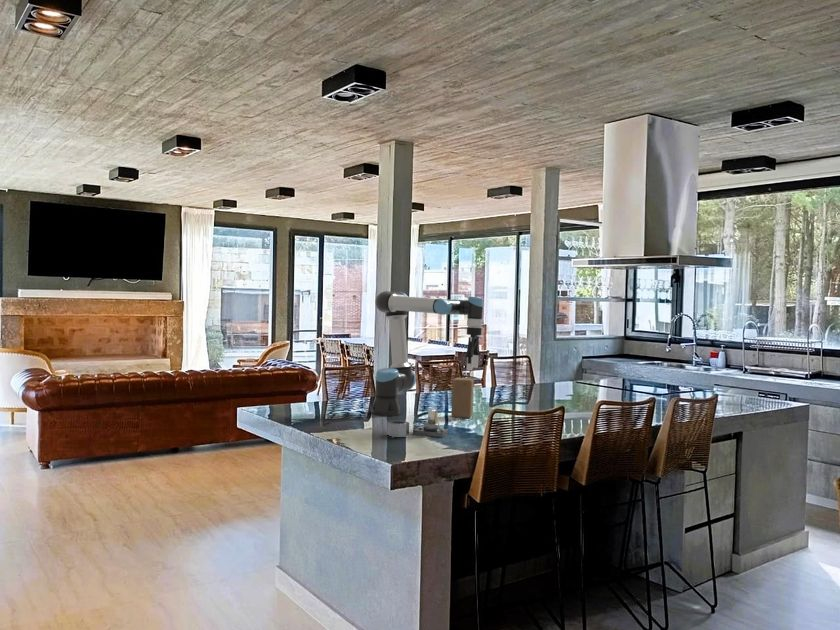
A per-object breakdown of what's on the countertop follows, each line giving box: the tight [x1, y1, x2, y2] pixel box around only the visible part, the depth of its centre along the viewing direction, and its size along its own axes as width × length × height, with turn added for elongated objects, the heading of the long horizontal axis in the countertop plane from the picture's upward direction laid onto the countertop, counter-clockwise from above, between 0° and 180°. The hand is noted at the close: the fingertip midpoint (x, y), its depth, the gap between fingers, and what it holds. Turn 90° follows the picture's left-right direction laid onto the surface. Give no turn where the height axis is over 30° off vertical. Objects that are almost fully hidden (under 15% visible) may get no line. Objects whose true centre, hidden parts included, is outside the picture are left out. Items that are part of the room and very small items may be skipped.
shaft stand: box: [412, 408, 450, 439], centre depth 321 cm, size 14×10×11 cm
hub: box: [386, 419, 410, 438], centre depth 314 cm, size 9×9×6 cm
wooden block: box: [451, 377, 475, 419], centre depth 373 cm, size 10×10×20 cm
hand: (472, 369), depth 360 cm, fingers open, 13 cm apart
